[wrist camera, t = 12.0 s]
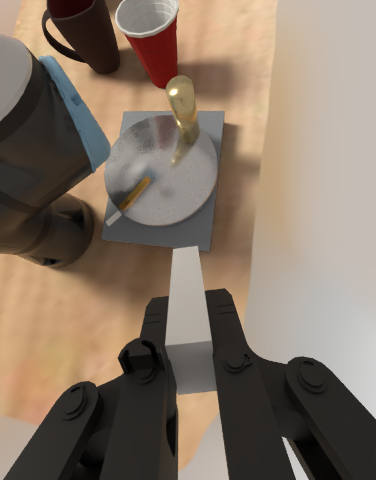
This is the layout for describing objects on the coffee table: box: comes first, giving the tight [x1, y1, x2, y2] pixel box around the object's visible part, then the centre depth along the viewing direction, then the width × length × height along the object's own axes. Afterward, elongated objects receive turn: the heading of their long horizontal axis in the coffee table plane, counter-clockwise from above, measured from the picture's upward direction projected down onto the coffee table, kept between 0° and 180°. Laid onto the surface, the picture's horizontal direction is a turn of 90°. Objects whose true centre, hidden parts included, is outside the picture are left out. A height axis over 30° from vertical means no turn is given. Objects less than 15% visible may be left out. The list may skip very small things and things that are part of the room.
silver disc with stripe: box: [104, 75, 217, 228], centre depth 32 cm, size 20×20×11 cm
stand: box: [101, 111, 224, 252], centre depth 39 cm, size 26×20×3 cm
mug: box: [42, 0, 120, 74], centre depth 42 cm, size 10×14×12 cm
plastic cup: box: [115, 0, 179, 88], centre depth 39 cm, size 11×11×12 cm
